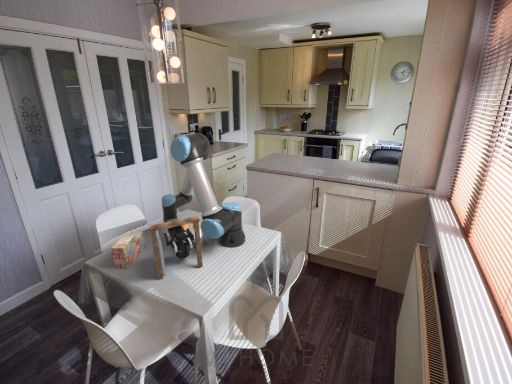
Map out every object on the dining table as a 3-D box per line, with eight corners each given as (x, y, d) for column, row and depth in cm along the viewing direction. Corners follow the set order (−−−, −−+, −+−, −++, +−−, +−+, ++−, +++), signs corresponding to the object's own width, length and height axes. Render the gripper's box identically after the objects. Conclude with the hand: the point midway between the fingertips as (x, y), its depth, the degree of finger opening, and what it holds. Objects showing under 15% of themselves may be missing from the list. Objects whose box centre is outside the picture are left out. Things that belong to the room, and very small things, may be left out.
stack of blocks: (135, 246, 153) (131, 227, 149) (146, 246, 153) (142, 227, 149) (115, 269, 133) (110, 247, 129) (127, 269, 133) (123, 247, 129)
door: (156, 260, 139) (151, 229, 133) (161, 259, 140) (156, 228, 134) (160, 276, 127) (155, 242, 120) (166, 274, 128) (161, 241, 121)
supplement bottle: (175, 260, 134) (173, 238, 129) (175, 252, 140) (173, 232, 136) (190, 257, 135) (187, 236, 131) (189, 250, 141) (187, 230, 137)
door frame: (201, 264, 136) (197, 215, 126) (202, 267, 134) (198, 217, 125) (158, 277, 127) (149, 225, 118) (158, 279, 125) (150, 227, 116)
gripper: (192, 230, 156) (204, 249, 136) (156, 237, 147) (163, 259, 128) (191, 218, 153) (203, 236, 134) (154, 225, 145) (162, 245, 125)
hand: (184, 247), depth 131 cm, fingers closed on supplement bottle, 7 cm apart
